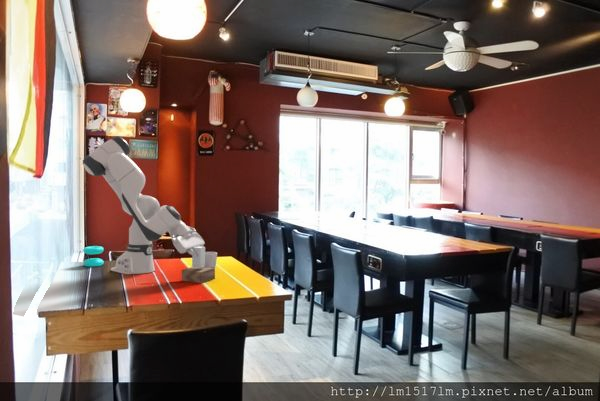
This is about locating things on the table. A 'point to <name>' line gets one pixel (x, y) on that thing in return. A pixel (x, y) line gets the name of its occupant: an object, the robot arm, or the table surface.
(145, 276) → the table surface
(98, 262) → the donuts
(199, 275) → the base
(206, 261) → the cup
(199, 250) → the block
